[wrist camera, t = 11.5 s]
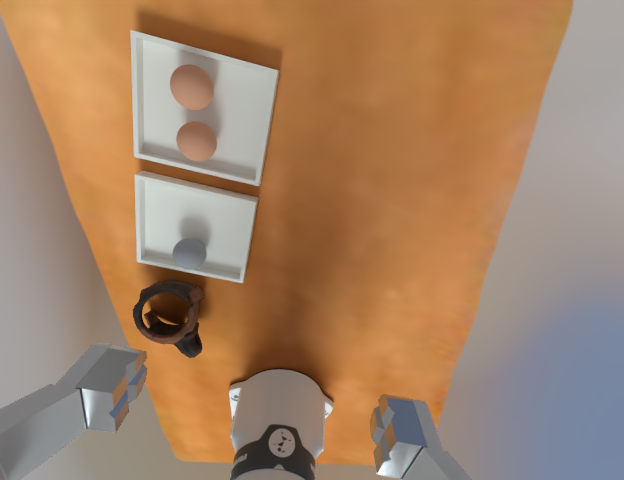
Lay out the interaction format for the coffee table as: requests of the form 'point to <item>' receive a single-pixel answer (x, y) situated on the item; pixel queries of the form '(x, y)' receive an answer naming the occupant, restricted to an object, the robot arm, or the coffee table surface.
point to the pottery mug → (165, 333)
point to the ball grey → (189, 253)
